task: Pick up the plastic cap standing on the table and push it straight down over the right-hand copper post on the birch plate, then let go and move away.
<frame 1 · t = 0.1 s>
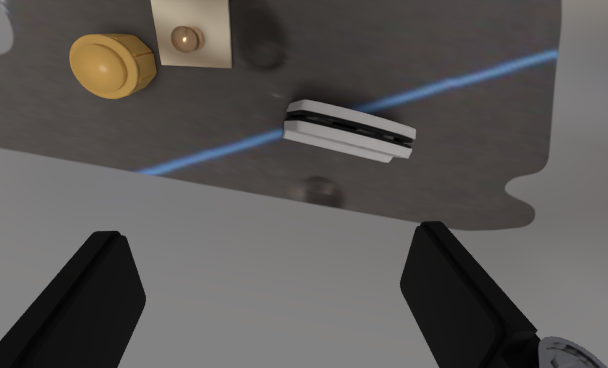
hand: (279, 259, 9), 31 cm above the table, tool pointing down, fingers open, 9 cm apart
hinge: (342, 125, 40), on the table
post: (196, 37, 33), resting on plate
cap: (129, 61, 34), on the table
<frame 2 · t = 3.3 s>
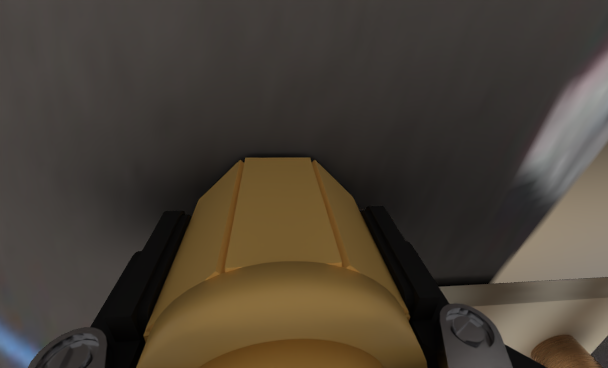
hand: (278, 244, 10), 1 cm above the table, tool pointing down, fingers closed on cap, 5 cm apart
cap: (278, 225, 11), on the table, touching gripper
plate: (438, 335, 16), on the table
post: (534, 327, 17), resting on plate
when the fingers open (3 cm above the table, at t = 8.2 s): cap stays where it is, resting on plate.
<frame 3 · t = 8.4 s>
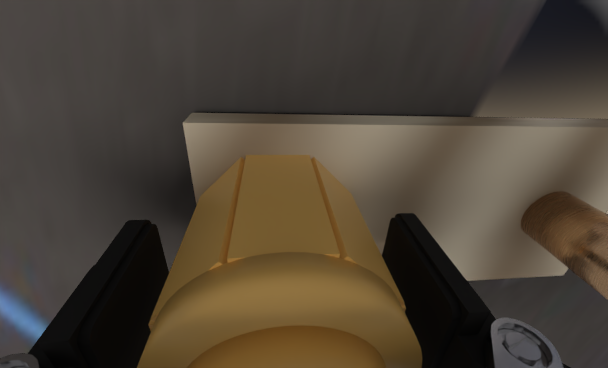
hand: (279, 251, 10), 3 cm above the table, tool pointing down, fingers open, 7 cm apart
cap: (278, 222, 11), point 1 cm above the table, touching plate
plate: (408, 202, 13), on the table
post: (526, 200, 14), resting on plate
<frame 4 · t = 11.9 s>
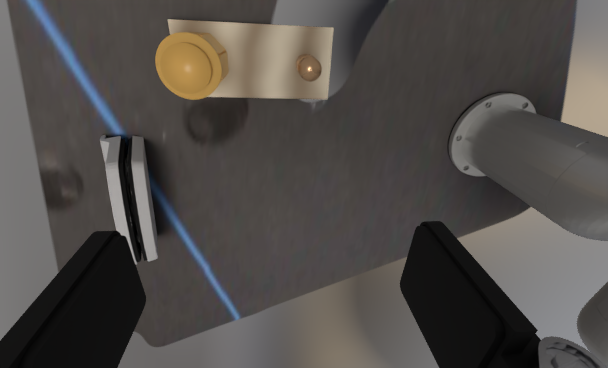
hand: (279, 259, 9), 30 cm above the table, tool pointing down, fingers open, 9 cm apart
hinge: (143, 189, 41), on the table
cap: (201, 61, 32), point 1 cm above the table, touching plate
plate: (255, 61, 34), on the table
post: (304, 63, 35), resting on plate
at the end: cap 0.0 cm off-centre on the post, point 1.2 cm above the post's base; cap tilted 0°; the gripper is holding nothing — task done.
